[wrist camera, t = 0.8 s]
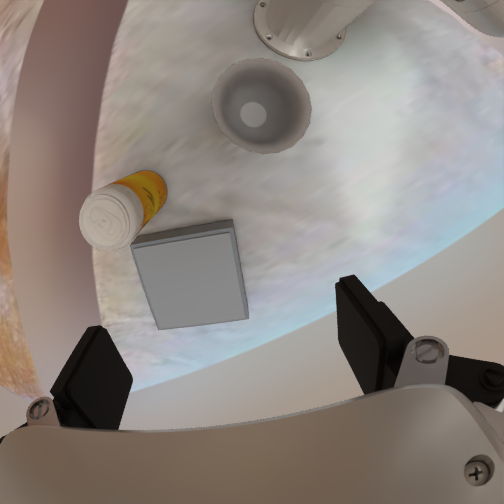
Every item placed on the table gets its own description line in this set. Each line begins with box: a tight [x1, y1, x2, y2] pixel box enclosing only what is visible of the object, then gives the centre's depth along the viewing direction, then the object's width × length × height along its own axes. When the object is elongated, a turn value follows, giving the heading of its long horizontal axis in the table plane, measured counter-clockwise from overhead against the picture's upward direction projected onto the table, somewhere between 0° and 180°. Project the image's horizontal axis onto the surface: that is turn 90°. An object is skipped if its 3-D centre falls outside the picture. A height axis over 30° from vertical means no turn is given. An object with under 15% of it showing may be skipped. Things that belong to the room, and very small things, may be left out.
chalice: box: [212, 58, 312, 154], centre depth 26 cm, size 7×7×18 cm
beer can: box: [79, 171, 167, 251], centre depth 30 cm, size 6×6×15 cm
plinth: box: [130, 220, 249, 330], centre depth 41 cm, size 14×14×4 cm
